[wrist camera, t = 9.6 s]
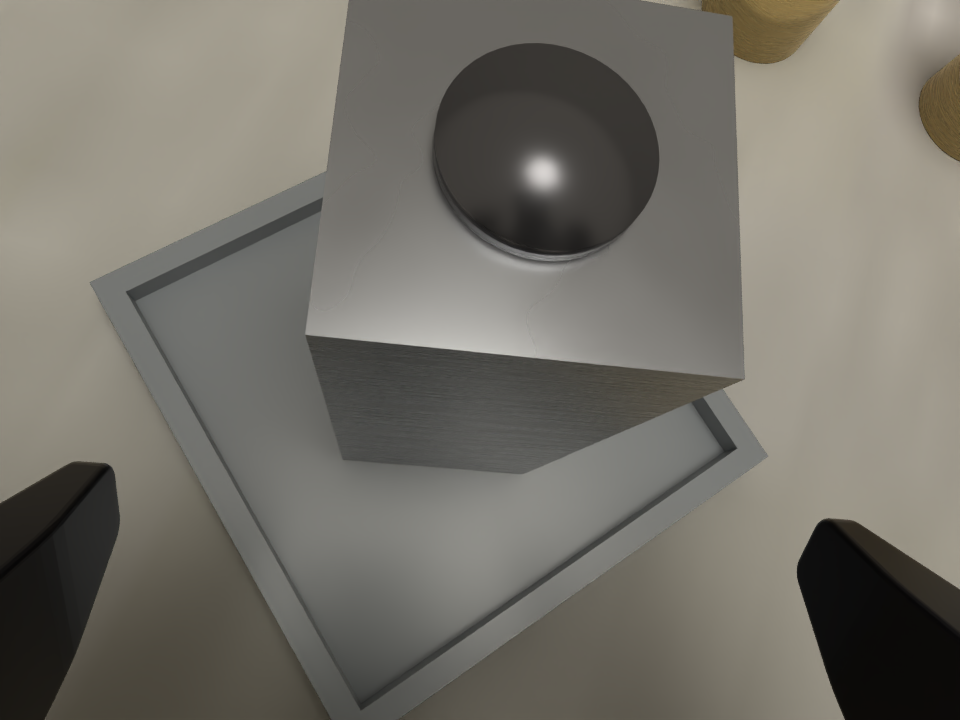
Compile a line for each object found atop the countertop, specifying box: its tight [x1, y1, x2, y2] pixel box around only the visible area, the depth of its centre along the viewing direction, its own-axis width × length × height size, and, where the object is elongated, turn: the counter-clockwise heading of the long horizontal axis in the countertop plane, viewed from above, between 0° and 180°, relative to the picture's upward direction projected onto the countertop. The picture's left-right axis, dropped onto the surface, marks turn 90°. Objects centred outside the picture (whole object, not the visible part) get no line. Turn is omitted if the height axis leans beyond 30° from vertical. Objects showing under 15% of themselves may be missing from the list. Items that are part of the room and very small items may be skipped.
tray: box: [90, 172, 768, 720], centre depth 18 cm, size 12×12×1 cm
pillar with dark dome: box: [305, 0, 745, 474], centre depth 13 cm, size 4×4×11 cm
